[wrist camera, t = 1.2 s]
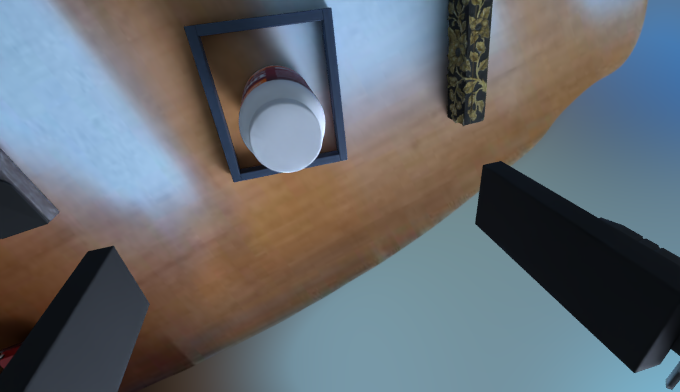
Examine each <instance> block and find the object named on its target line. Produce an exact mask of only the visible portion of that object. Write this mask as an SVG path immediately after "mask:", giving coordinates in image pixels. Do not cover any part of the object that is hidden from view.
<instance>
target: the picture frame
mask: <svg viewBox="0 0 680 392" xmlns="http://www.w3.org/2000/svg"><path fill="white" fill-rule="evenodd" d="M58 213H59V211H58V210H57V208H56V207H55V206H54V205H53V204H52V203H51V202H50V201H49V200H48V199H47V198H46V197H45V196H44V195H43V194H42V192H41V191H40V190H39V189H38V188H37V187H36V186H35V185H34V184H33V183H32V182H31V181H30V180H29V179H28V178H27V176H26V175H25V174H24V173H23V172H22V171H21V170H20V169H19V168H18V167H17V166H16V165H15V164H14V163H13V162H12V160H11V159H10V158H9V157H8V156H7V155H6V154H5V153H4V152H3V151H2V150H1V149H0V239H4V238H7V237H10V236H13V235H16V234H19V233H22V232H24V231H27V230H30V229H33V228H36V227H39V226H42V225H45V224H48V223H49V221H51V220H52V219H53V218H54V217H55V216H56V215H57V214H58Z"/></svg>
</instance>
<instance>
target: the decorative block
mask: <svg viewBox="0 0 680 392" xmlns="http://www.w3.org/2000/svg"><path fill="white" fill-rule="evenodd" d="M492 4H493V0H449V6H448V10H449V18H448V19H447V20H449V27H448V37H449V48H448V52H449V54H448V55H447V56H448V59H449V65H448V69H447V70H448V74H447V80H448V83H449V85H448V86H447V88H448V106H447V109H448V117H449V118H450V119H452V120H453V121H454V122H455V123H461V124H462V125H463V126H465V125H468V124H472V123H477V122H480V121H483V120H484V115H485V102H486V88H487V72H488V58H489V43H490V30H491V17H492Z"/></svg>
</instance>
